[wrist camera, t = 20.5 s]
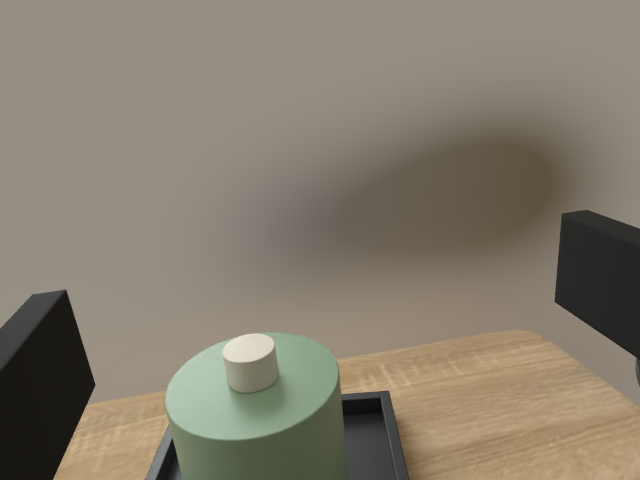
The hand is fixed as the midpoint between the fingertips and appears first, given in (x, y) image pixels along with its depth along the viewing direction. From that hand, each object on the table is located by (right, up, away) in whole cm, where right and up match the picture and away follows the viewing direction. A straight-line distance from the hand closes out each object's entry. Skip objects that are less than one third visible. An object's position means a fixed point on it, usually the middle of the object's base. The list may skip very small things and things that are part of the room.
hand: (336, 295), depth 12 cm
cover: (-3, -16, +18) cm, 24 cm away
